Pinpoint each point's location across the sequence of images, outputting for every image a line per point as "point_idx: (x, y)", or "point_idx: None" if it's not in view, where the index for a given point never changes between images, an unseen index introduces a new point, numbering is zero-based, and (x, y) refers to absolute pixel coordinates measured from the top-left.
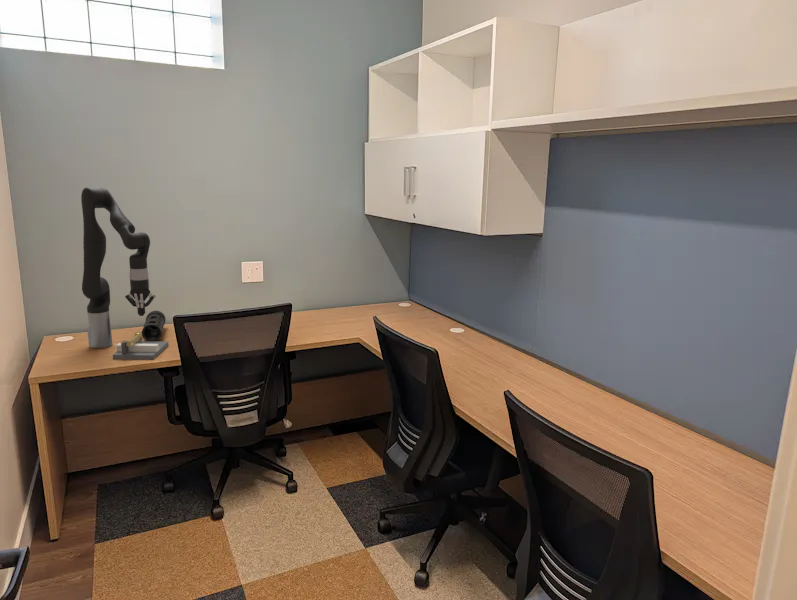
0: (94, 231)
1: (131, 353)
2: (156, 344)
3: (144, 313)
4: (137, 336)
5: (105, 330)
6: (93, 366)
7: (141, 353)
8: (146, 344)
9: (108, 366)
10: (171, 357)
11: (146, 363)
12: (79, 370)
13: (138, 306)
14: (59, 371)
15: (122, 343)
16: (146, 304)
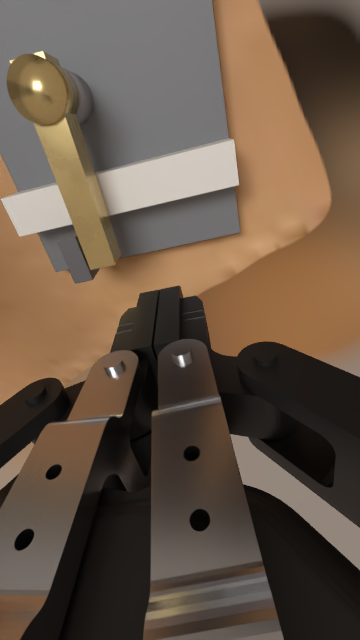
0: None
1: (122, 235)
2: (226, 158)
3: (206, 324)
4: (77, 151)
5: None
6: (63, 343)
7: (168, 222)
8: (166, 176)
9: (111, 333)
10: (310, 175)
11: (230, 277)
12: None
13: (149, 433)
14: (6, 394)
15: (83, 281)
16: (289, 448)
